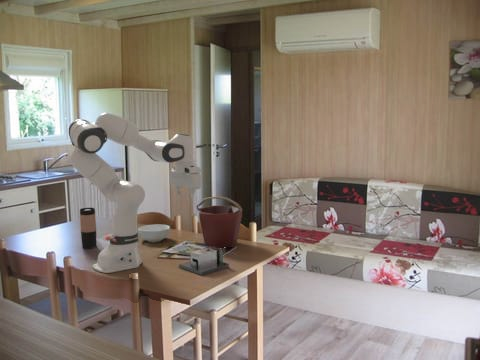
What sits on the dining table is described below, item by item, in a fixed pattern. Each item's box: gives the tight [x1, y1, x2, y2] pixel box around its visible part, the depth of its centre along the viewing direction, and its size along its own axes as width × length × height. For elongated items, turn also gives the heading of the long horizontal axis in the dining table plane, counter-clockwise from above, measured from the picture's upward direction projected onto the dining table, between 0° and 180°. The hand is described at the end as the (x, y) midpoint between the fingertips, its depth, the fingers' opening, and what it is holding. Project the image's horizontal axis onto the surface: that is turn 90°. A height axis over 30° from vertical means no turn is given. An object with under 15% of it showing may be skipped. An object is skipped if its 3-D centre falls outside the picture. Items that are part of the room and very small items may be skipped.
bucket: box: [195, 196, 243, 248], centre depth 280 cm, size 24×22×25 cm
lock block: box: [189, 247, 217, 268], centre depth 243 cm, size 10×6×6 cm, turn 134°
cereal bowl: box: [137, 223, 171, 243], centre depth 291 cm, size 17×17×7 cm
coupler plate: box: [178, 246, 230, 276], centre depth 243 cm, size 16×16×8 cm
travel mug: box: [79, 207, 97, 250], centre depth 278 cm, size 8×8×20 cm
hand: (185, 196), depth 259 cm, fingers open, 8 cm apart
